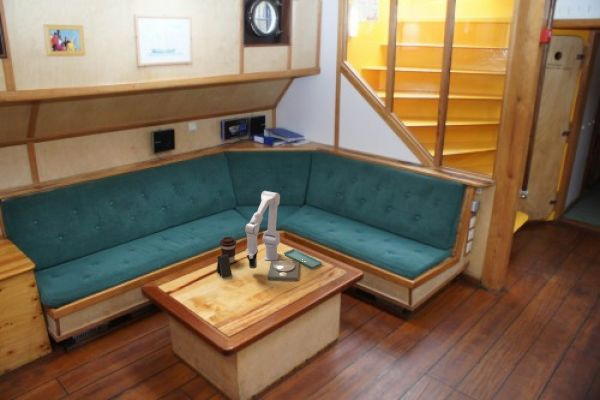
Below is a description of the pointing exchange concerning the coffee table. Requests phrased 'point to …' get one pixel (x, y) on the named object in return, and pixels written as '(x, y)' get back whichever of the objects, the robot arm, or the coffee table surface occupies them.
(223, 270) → the phone stand
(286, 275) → the scale base
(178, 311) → the coffee table surface
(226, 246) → the coffee cup
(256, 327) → the coffee table surface
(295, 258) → the rectangular tray
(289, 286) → the coffee table surface
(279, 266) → the scale pan
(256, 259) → the cylinder
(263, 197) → the robot arm
